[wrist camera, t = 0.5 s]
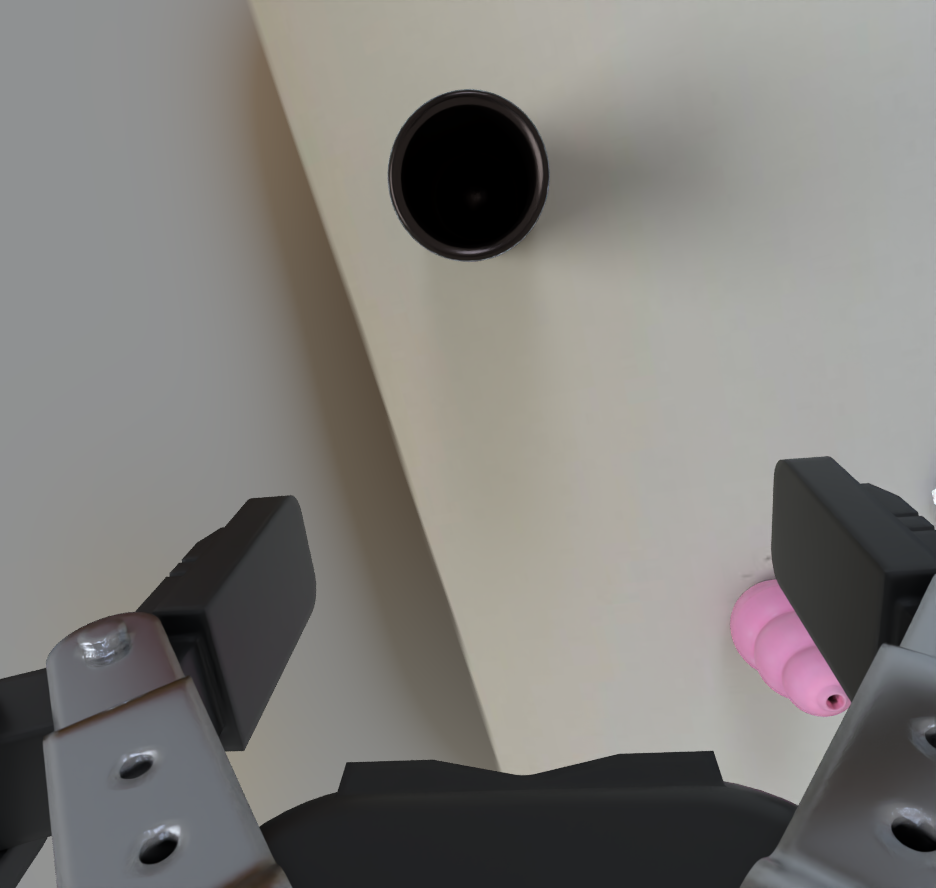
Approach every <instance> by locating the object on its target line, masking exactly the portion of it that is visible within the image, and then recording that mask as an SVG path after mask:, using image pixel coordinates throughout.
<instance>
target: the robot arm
mask: <svg viewBox="0 0 936 888" xmlns="http://www.w3.org/2000/svg"><path fill="white" fill-rule="evenodd" d="M771 553H772V563H773V568H774V573H775V576H776V579H777V582H778V584H779V586H780V588H781V590H782V591H783V593H784V595H785V596H786V598H787V599H788V601H789V603H790V604H791V606H792V608H793V609H794V611H795V612H796V614H797V616H798V617H799V619H800V620H801V622H802V624H803V625H804V627H805V629H806V630H807V632H808V633H809V635H810V637H811V638H812V640H813V641H814V643H815V645H816V646H817V648H818V650H819V651H820V653H821V654H822V656H823V658H824V659H825V661H826V662H827V664H828V666H829V667H830V669H831V671H832V672H833V674H834V675H835V677H836V679H837V680H838V682H839V684H840V685H841V687H842V688H843V690H844V692H845V693H846V695H847V696H848V698H849V700H850V701H851V705H850V706H849V708H848V710H847V712H846V714H845V716H844V718H843V720H842V722H841V724H840V726H839V728H838V730H837V732H836V734H835V736H834V738H833V739H832V741H831V743H830V745H829V747H828V749H827V751H826V753H825V755H824V757H823V759H822V761H821V763H820V765H819V767H818V769H817V770H816V772H815V774H814V776H813V778H812V780H811V782H810V784H809V786H808V788H807V790H806V792H805V794H804V796H803V798H802V800H801V802H800V803H799V805H796V804H794V803H792V802H789V801H787V800H785V799H783V798H780V797H777V796H775V795H772V794H769V793H767V792H764V791H761V790H758V789H754V788H750V787H747V786H743V785H740V784H735V783H730V782H725V781H723V779H722V776H721V773H720V770H719V767H718V764H717V761H716V758H715V754H714V751H696V752H664V753H633V754H617V755H613V756H609V757H604V758H600V759H596V760H592V761H588V762H583V763H579V764H575V765H571V766H567V767H563V768H558V769H554V770H550V771H546V772H542V773H537V774H533V775H513V774H508V773H502V772H497V771H492V770H486V769H480V768H475V767H469V766H464V765H459V764H453V763H448V762H442V761H437V760H411V761H378V762H347V763H346V766H345V770H344V773H343V776H342V779H341V782H340V786H339V789H338V792H336V793H332V794H328V795H325V796H322V797H319V798H316V799H313V800H310V801H308V802H305V803H303V804H300V805H298V806H296V807H294V808H292V809H290V810H287V811H285V812H283V813H282V814H280V815H278V816H276V817H275V818H273V819H271V820H269V821H267V822H266V823H264V824H263V825H261V826H260V827H259V826H258V823H257V821H256V819H255V817H254V815H253V813H252V810H251V808H250V806H249V804H248V802H247V799H246V797H245V795H244V793H243V790H242V788H241V786H240V784H239V782H238V780H237V777H236V775H235V773H234V770H233V768H232V766H231V764H230V762H229V759H228V757H227V755H226V753H225V751H244V750H245V748H246V746H247V744H248V742H249V740H250V738H251V736H252V734H253V732H254V730H255V728H256V726H257V724H258V722H259V720H260V718H261V716H262V713H263V711H264V709H265V707H266V705H267V703H268V701H269V699H270V697H271V695H272V693H273V691H274V689H275V687H276V685H277V683H278V681H279V679H280V677H281V675H282V673H283V671H284V669H285V666H286V664H287V662H288V660H289V658H290V656H291V654H292V652H293V650H294V648H295V646H296V644H297V642H298V640H299V638H300V636H301V634H302V632H303V630H304V628H305V626H306V623H307V622H308V620H309V618H310V615H311V613H312V611H313V608H314V604H315V599H316V580H315V573H314V568H313V564H312V559H311V554H310V550H309V545H308V540H307V536H306V531H305V526H304V522H303V517H302V512H301V508H300V505H299V503H298V501H297V499H296V498H295V497H294V496H291V495H290V496H277V497H264V498H251V499H249V500H248V501H247V502H246V503H245V504H244V505H243V506H242V507H241V509H240V510H239V511H238V512H237V514H236V515H235V516H234V517H233V518H232V519H231V520H230V521H229V523H228V524H227V525H226V526H225V527H223V528H220V529H218V530H217V531H215V532H213V533H212V534H210V535H209V536H207V537H205V538H204V539H202V540H201V541H199V542H197V543H196V544H195V546H194V547H193V548H192V549H191V550H190V551H189V552H188V553H187V555H186V556H185V557H184V558H183V559H182V563H178V565H177V566H176V567H175V568H174V569H173V570H172V571H171V572H170V577H166V578H165V579H164V580H163V581H162V582H161V583H160V585H159V586H158V587H157V588H156V589H155V590H154V591H153V592H152V593H151V595H150V596H149V597H148V598H147V599H146V600H145V601H144V602H143V604H142V605H141V606H140V607H139V608H138V609H137V610H136V612H128V613H121V614H116V615H112V616H108V617H105V618H102V619H99V620H97V621H94V622H92V623H89V624H87V625H85V626H83V627H81V628H79V629H78V630H76V631H74V632H72V633H71V634H69V635H68V636H66V637H65V638H64V639H62V640H61V641H60V642H59V643H58V644H57V645H56V646H55V647H54V648H53V649H52V651H51V652H50V653H49V655H48V657H47V660H46V668H44V669H40V670H36V671H32V672H28V673H24V674H19V675H15V676H11V677H7V678H3V679H0V888H16V886H17V885H18V883H19V882H20V880H21V878H22V877H23V875H24V874H25V872H26V871H27V869H28V868H29V866H30V865H31V863H32V862H33V860H34V859H35V857H36V856H37V854H38V852H39V851H40V850H41V848H42V847H43V845H44V843H45V841H46V839H47V837H49V836H52V842H53V852H54V862H55V873H56V883H57V888H936V530H935V529H934V526H933V525H932V524H931V523H930V522H929V521H927V520H926V519H925V518H924V517H923V516H919V515H918V512H917V511H916V510H915V509H913V508H912V507H911V506H910V505H909V504H908V503H906V502H905V501H904V500H903V499H902V498H901V497H899V496H897V495H895V494H893V493H890V492H888V491H886V490H883V489H881V488H879V487H876V486H874V485H872V484H869V483H864V484H860V483H859V482H858V481H857V480H855V479H854V478H853V477H852V476H851V475H850V474H849V473H848V472H847V471H846V470H845V469H843V468H842V467H841V466H840V465H839V464H838V463H837V462H836V461H835V460H834V459H833V458H831V457H829V456H825V457H812V458H798V459H785V460H779V461H778V463H777V464H776V467H775V472H774V487H773V514H772V542H771Z"/></svg>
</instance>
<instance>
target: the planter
mask: <svg viewBox="0 0 936 888" xmlns="http://www.w3.org/2000/svg"><path fill="white" fill-rule="evenodd" d="M549 178H550V172H549V161H548V156H547V152H546V148H545V145H544V143H543V140H542V138H541V136H540V134H539V132H538V130H537V128H536V127H535V125H534V124H533V122H532V121H531V120H530V119H529V117H528V116H527V115H526V114H525V113H524V112H523V111H522V110H521V109H520V108H519V107H517V106H516V105H515V104H513V103H512V102H510V101H509V100H507V99H505V98H503V97H501V96H499V95H496V94H494V93H491V92H487V91H482V90H475V89H464V90H455V91H451V92H447V93H444V94H441V95H439V96H436V97H434V98H433V99H431V100H429V101H427V102H426V103H424V104H423V105H422V106H420V107H419V108H418V109H417V110H416V111H415V112H414V113H413V114H412V115H411V116H410V117H409V118H408V119H407V121H406V122H405V123H404V125H403V126H402V128H401V129H400V131H399V133H398V135H397V137H396V139H395V141H394V144H393V147H392V150H391V153H390V158H389V164H388V187H389V194H390V198H391V202H392V205H393V208H394V210H395V213H396V215H397V217H398V219H399V220H400V222H401V224H402V225H403V227H404V228H405V230H406V231H407V232H408V233H409V234H410V236H411V237H412V238H413V239H414V240H415V241H416V242H418V243H419V244H420V245H421V246H423V247H424V248H426V249H427V250H429V251H430V252H432V253H434V254H436V255H438V256H441V257H444V258H447V259H450V260H455V261H463V262H474V261H482V260H487V259H490V258H494V257H496V256H499V255H501V254H503V253H505V252H507V251H508V250H510V249H512V248H513V247H514V246H516V245H517V244H518V243H519V242H521V241H522V240H523V239H524V238H525V237H526V236H527V234H528V233H529V232H530V231H531V230H532V228H533V227H534V225H535V224H536V222H537V221H538V219H539V217H540V215H541V213H542V210H543V208H544V205H545V202H546V199H547V194H548V189H549Z"/></svg>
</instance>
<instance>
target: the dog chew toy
mask: <svg viewBox="0 0 936 888" xmlns="http://www.w3.org/2000/svg"><path fill="white" fill-rule="evenodd" d="M730 629H731V635H732V639H733V642H734V644H735V647H736V649H737V651H738V652H739V654H740V655H741V656H742V657H743V659H744V660H745V661H746V662H747V663H748V664H749V665H750V666H751V667H753V668H755V669H756V670H758V672H759V674H760V676H761V677H762V679H763V680H764V681H765V683H766V684H767V685H768V686H769V687H770V688H771V689H773V690H774V691H775V692H777V693H778V694H780V695H782V696H784V697H786V698H789V699H790V700H791V701H792V703H793V704H794V705H795V706H797V707H798V708H799V709H801V710H802V711H804V712H806V713H808V714H811V715H815V716H821V717H828V716H834V715H837V714H840V713H842V712H843V711H845V710H846V709H848V708H849V706H850V705H851V701H850V700H849V698H848V696H847V695H846V693H845V692H844V690H843V688H842V687H841V685H840V684H839V682H838V680H837V679H836V677H835V675H834V674H833V672H832V671H831V669H830V667H829V666H828V664H827V662H826V661H825V659H824V658H823V656H822V654H821V653H820V651H819V650H818V648H817V646H816V645H815V643H814V641H813V640H812V638H811V637H810V635H809V633H808V632H807V630H806V629H805V627H804V625H803V624H802V622H801V620H800V619H799V617H798V616H797V614H796V612H795V611H794V609H793V608H792V606H791V604H790V603H789V601H788V599H787V598H786V596H785V595H784V593H783V591H782V590H781V588H780V586H779V584H778V582H777V579H775V580H768V581H763V582H760V583H758V584H756V585H754V586H752V587H750V588H749V589H748V590H746V591H745V592H744V593H743V594H742V595H741V596H740V598H739V599H738V600H737V602H736V604H735V606H734V608H733V611H732V614H731V620H730Z"/></svg>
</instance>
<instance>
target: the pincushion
mask: <svg viewBox="0 0 936 888" xmlns="http://www.w3.org/2000/svg"><path fill="white" fill-rule="evenodd" d="M932 495H933V497H935V498H933V500H934V504H936V489H935V490H933V491H932Z"/></svg>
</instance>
